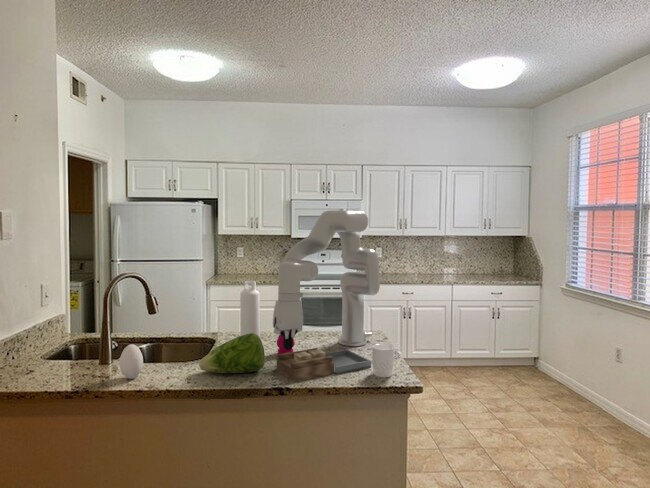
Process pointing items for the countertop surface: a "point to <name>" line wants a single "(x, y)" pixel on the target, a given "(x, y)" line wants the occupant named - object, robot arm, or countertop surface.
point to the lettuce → (236, 356)
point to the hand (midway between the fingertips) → (288, 348)
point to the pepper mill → (281, 347)
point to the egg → (131, 361)
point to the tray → (348, 361)
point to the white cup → (383, 359)
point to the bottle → (250, 309)
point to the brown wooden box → (304, 366)
